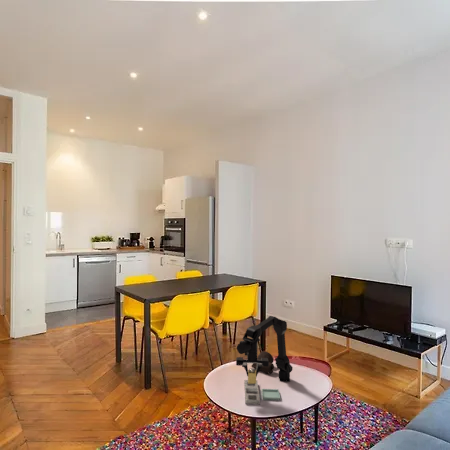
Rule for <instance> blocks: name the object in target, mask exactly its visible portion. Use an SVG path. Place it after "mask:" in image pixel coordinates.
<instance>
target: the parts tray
mask: <svg viewBox="0 0 450 450" xmlns="http://www.w3.org/2000/svg"><path fill="white" fill-rule="evenodd" d="M261 397H262V401H281V395H280V389H276V388H275V389H274V388H273V389H272V388H261Z"/></svg>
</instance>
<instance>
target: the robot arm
mask: <svg viewBox="0 0 450 450" xmlns="http://www.w3.org/2000/svg"><path fill="white" fill-rule="evenodd" d="M287 323H288V322H287V321H286V320H282V319H279V318H277V316H274V315H273V316H272V315H269V316H268V317H267V318H266V319H264V320H263V321H261V322H259V323H258V324H255V325H251V326H249V327H247V328H246V330H245V333H244V335H243V337H242V340H240V341H239V343H238V344H237V345H236V350H237V353H238V354H240V355H243V354H244V356H246V359H245V358H244V357H241V356H238V357H236V359H235V365H236V366H239V367H240V366H242V368H244V370H245V373H246V376H247V377H248V370H249V369H248V364H253V363H257V368H256V369H255V370H256V378H257V376H258V374H259V372H260V371H261V370H260V368H262V367H263V366H269V361H268V358H261V360H257V358H258V346H259V345H258V342H260V341H261V339H260V337H261V336H262V333H263V332H265V331H266V330H267V329H268V328H270V327H271V326H272V327H273V330H274V333H276V341H277V356H276V358H274V360H275V365H276V368H277V369H278V379H279V382H291V373H292V371H293V366H292V365H291V364H290V359H289V357H288V356H287V349H286V347H287V345H286V335H285V334H286V332H287V330H288V324H287ZM262 365H263V366H262Z"/></svg>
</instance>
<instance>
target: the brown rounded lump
mask: <svg viewBox="0 0 450 450" xmlns="http://www.w3.org/2000/svg"><path fill="white" fill-rule="evenodd" d="M261 358H268V361H269V366H263V365H262V366H263V367H262V368H260V370H259V371H262V372H263V373H266V374H272V373H273V371H274V368H275V364H274V357H273V355H272V354H271V353H270V352H267V351H261V352H260V353H259V354H257V360H261ZM251 367H252V368H253V369H255V370H256V368H257V363H251Z"/></svg>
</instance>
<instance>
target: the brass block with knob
mask: <svg viewBox="0 0 450 450" xmlns="http://www.w3.org/2000/svg"><path fill="white" fill-rule="evenodd" d="M247 380H248V384H256V380H257V377H256V369H254V368H253V367H252V368H249V369H248V376H247Z"/></svg>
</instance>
